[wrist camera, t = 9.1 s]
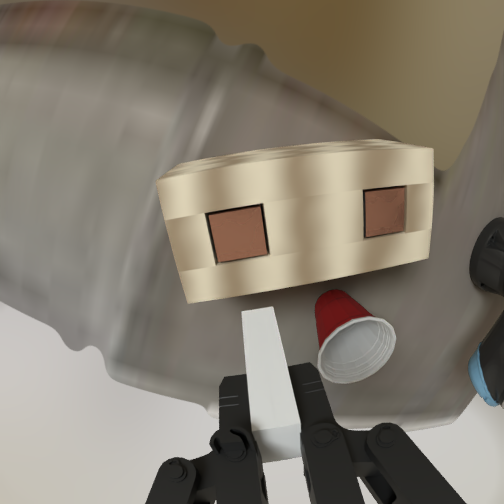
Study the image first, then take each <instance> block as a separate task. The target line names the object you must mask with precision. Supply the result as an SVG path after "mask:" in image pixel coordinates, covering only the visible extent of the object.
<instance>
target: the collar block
mask: <svg viewBox="0 0 504 504" xmlns="http://www.w3.org/2000/svg"><path fill="white" fill-rule="evenodd" d="M156 186H157V190H158V194H159V199H160V203H161V207H162V211H163V216H164V220H165V224H166V228H167V231H168V235H169V239H170V243H171V247H172V250H173V254H174V258H175V261H176V265H177V269H178V272H179V276H180V279H181V282H182V286H183V289H184V292H185V296H186V299H187V302H188V303H195V302H202V301H209V300H216V299H222V298H228V297H235V296H241V295H247V294H253V293H259V292H265V291H271V290H276V289H282V288H288V287H293V286H299V285H304V284H309V283H315V282H320V281H325V280H330V279H335V278H340V277H345V276H350V275H355V274H360V273H365V272H369V271H374V270H379V269H383V268H388V267H393V266H397V265H402V264H406V263H410V262H415V261H419V260H423V259H427V258H428V256H429V248H430V238H431V227H432V213H433V190H434V156H433V148H428V147H423V146H418V145H412V144H407V143H400V142H394V141H387V140H380V139H371V140H351V141H336V142H324V143H313V144H302V145H293V146H285V147H276V148H269V149H261V150H254V151H248V152H241V153H235V154H229V155H223V156H217V157H212V158H207V159H201V160H196V161H191V162H186V163H182V164H178V165H177V166H175V167H174V168H173V169H171V170H170V171H168V172H167V173H166V174H164V175H163V176H162V177H160V178H159V179H158V180H156ZM391 186H401V187H403V188H404V229H403V231H399V232H393V233H387V234H382V235H376V236H370V237H365V236H364V235H363V189H372V188H381V187H391ZM254 204H259V205H260V207H261V214H262V221H263V228H264V236H265V243H266V250H267V254H265V255H259V256H253V257H247V258H241V259H235V260H229V261H223V262H218V258H217V253H216V249H215V244H214V239H213V235H212V230H211V225H210V220H209V212H213V211H218V210H224V209H230V208H236V207H242V206H248V205H254Z"/></svg>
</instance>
